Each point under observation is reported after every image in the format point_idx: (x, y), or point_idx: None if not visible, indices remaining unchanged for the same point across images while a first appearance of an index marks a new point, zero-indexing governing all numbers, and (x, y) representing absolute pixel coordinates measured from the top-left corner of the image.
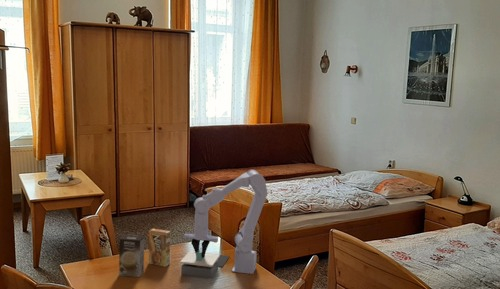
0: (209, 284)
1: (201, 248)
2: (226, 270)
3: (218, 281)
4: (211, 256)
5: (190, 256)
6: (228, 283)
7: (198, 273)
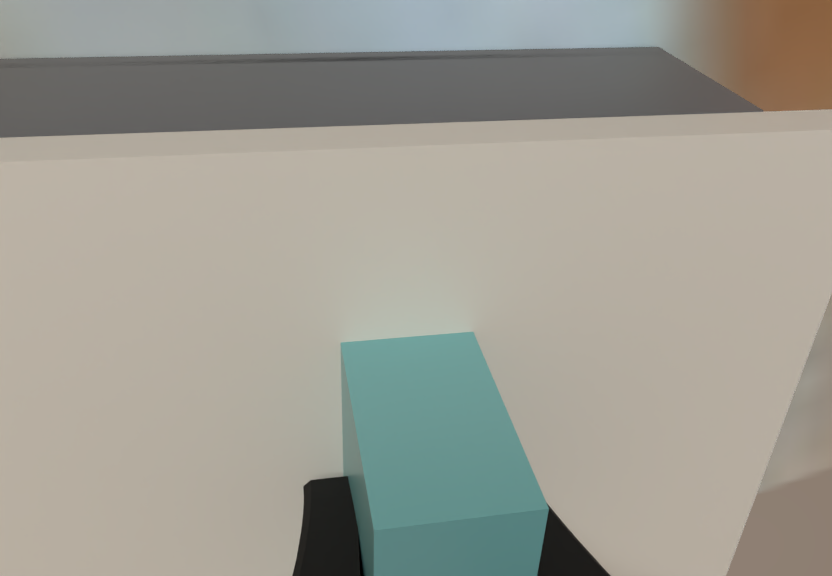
0: None
1: (432, 571)
2: (817, 70)
3: None
4: (659, 308)
5: (107, 493)
6: (812, 454)
7: None
